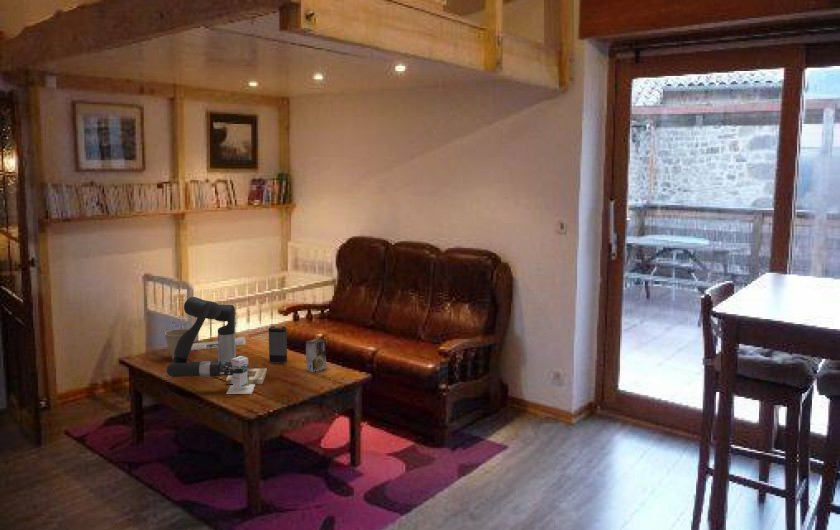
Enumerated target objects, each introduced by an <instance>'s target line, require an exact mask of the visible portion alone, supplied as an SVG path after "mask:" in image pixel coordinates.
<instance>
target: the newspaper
mask: <svg viewBox="0 0 840 530" xmlns="http://www.w3.org/2000/svg"><path fill="white" fill-rule="evenodd" d="M246 343H247V341H246V336H245V335H244V336H238V337H235V346H236V347H238V346H237V345H245V346H246ZM210 348H217V349H218V340H216V341H206V342H204V341H203V342H195V343H194V342H193V345H192V348H191V351H190V352H195V351H194V350H198V351H203V350H202V349H207V350H211V349H210Z"/></svg>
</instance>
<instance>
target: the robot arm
mask: <svg viewBox="0 0 840 530" xmlns="http://www.w3.org/2000/svg"><path fill="white" fill-rule="evenodd" d="M235 307H236V306H234V305H233V304H219V303H217V302H214V301H210V300H205V299H202V298H199V297H196V296H191V297H188V298H187V299H186V301H185V302H184V304H183V311H184V313H185V314H186V315H188V316H190V317H191V316H192V317H193V318H195V319H196V320H195V322H194V324H193V325H192V326H191V327H190V328H189V330H188V331H187V332H185V333H184V334H183V335H182V336H181V337H180V338H179V340H178V343H177V345H176V348H175V351H174V355H175V356H174V359H173V358H172V362H171V363H169V364H168V365H167V367H166V375H168V376H169V377H171V378H184V377H204V378H205V377H207V378H208V377H209V378H210V377H215V378H216V377H221V376H228V375H233V374H239V373H243V369H233V368H232V359H233V358H236V357H237V351H236V350H237V349H236V347H237V346H235V338H236V308H235ZM206 319H207V320H215V321H217V322H227V324H226V325H223V326H220V327H218V328H217V341H218V348H217V360H204V361H190V362H188V358H189V355H190V353H191V352H192V351H191V348H192V345H193V343H194V342H195V340H196V338H197V335H198V334H199V332H200V330H201V328H202V326H203V324H204V323H205V321H206Z"/></svg>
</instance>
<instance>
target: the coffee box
mask: <svg viewBox="0 0 840 530" xmlns="http://www.w3.org/2000/svg"><path fill="white" fill-rule="evenodd" d="M326 344H327V343H326V340H324V339H323V338H315V339H312V340H306V341H305V359H306V360H305V362H306V363H305V364H306V366H305V367H306V369H305V370H307V371H308V370H309V371H308V372H311V373H315V371H316V372H319V370H320V371H323V369H324V370H326V369H327V353H326V352H327V350H326V349H327V348H326V347H327V345H326Z"/></svg>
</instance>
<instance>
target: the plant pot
mask: <svg viewBox="0 0 840 530" xmlns="http://www.w3.org/2000/svg"><path fill="white" fill-rule="evenodd" d="M189 329H190V328H189ZM189 329H188V328H177V329H170V330H167V331H165V332H164V337H165V341H166V345H167V348H168V352H169V353H170V356H171V358H172V360H173V359H174V356H175V355H174V351H175V348H176V345H177V343H178V340H179V338H180V337H181V336H182V335H183V334H184V333H185V332H187V331H188V330H189Z"/></svg>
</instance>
